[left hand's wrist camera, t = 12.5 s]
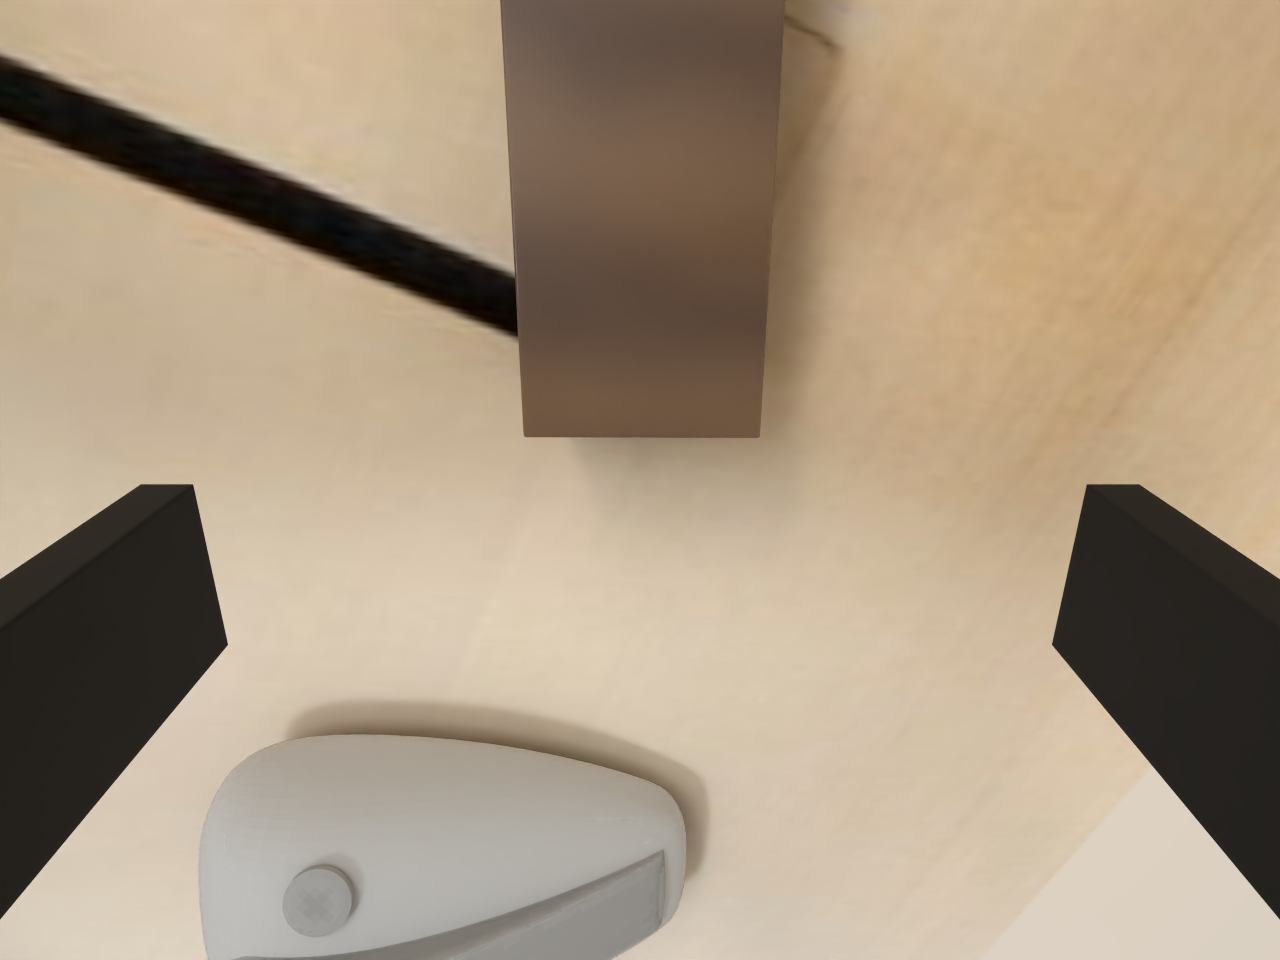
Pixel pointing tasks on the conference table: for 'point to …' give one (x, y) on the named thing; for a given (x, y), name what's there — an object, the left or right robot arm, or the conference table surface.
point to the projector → (434, 854)
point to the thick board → (642, 211)
